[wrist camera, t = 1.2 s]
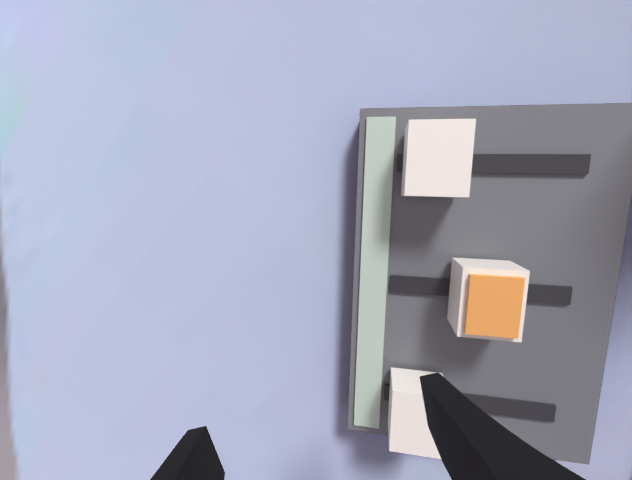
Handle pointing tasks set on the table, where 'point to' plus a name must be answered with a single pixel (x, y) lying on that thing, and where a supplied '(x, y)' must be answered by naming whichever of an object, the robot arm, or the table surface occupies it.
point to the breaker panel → (495, 244)
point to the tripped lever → (487, 299)
